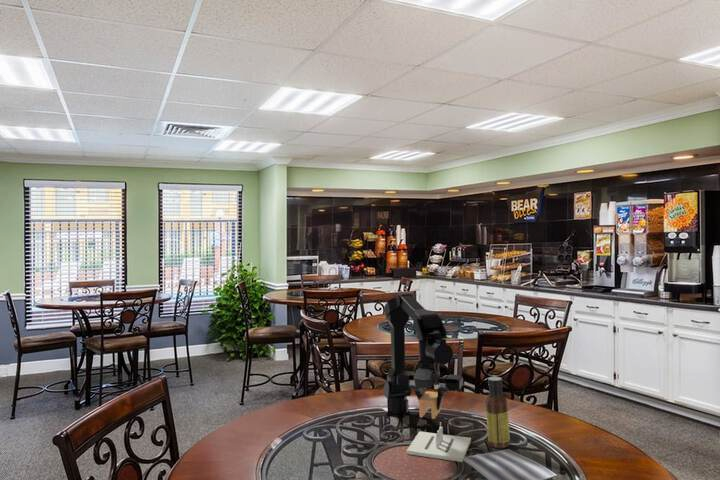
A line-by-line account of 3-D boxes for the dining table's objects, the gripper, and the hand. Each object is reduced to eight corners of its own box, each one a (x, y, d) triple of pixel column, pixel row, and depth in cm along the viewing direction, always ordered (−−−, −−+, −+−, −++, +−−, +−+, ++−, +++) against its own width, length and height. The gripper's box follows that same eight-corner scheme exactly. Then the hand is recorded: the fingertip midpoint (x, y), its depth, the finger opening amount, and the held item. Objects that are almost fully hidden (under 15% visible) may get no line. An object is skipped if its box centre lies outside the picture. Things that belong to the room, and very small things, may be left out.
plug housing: (434, 418, 145) (433, 401, 145) (419, 417, 147) (418, 399, 147) (441, 409, 152) (440, 392, 152) (426, 407, 154) (426, 391, 154)
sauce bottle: (510, 441, 152) (508, 375, 151) (509, 450, 146) (507, 382, 145) (487, 439, 154) (486, 374, 153) (486, 448, 148) (484, 380, 147)
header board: (406, 453, 146) (406, 436, 146) (419, 434, 159) (419, 418, 159) (462, 462, 140) (461, 444, 140) (471, 441, 153) (470, 424, 153)
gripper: (389, 361, 146) (391, 415, 146) (454, 365, 138) (456, 422, 139) (401, 351, 156) (403, 402, 156) (462, 355, 149) (464, 408, 149)
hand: (430, 408), depth 150 cm, fingers closed on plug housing, 4 cm apart
